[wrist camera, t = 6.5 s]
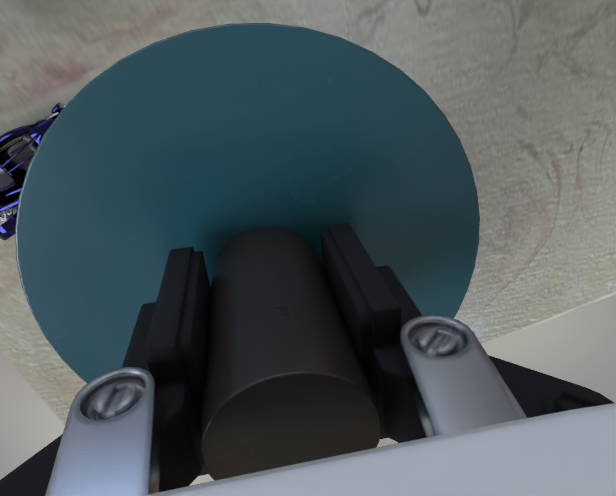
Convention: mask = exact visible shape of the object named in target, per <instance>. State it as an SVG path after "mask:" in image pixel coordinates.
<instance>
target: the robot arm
mask: <svg viewBox="0 0 616 496" xmlns="http://www.w3.org/2000/svg"><path fill="white" fill-rule="evenodd" d="M321 245H322V258H323V270H324V272H325V275H326V277H327V280H328V282H329V285H330V287H331V290H332V292H333V295H334V297H335V300H336V302H337V305H338V307H339V310H340V312H341V315H342V317H343V320H344V322H345V325H346V327H347V330H348V332H349V335H350V337H351V340H352V342H353V345H354V348H355V350H356V353H357V355H358V358H359V360H360V363H361V365H362V368H363V370H364V373H365V375H366V378H367V380H368V383H369V385H370V388H371V390H372V393H373V395H374V398H375V400H376V403H377V405H378V408H379V411H380V415H381V422H382V427H381V435H380V439H383V438H388V437H389V438H391V439H393V440H395V441H397V442H398V443H397V444H393V445H387V446H382V447H377V448H372V449H368V450H363V451H358V452H353V453H348V454H343V455H338V456H333V457H328V458H323V459H318V460H313V461H308V462H303V463H299V464H294V465H289V466H284V467H279V468H274V469H269V470H264V471H260V472H255V473H250V474H245V475H240V476H235V477H230V478H225V479H221V480H216V481H211V482H207V483H201V484H197V485H192V486H189V485H190V484H191V483H192V482H193V480H195V479H196V478H197V476H200V475H206V474H209V473H208V471H207V470H206V468H205V466H204V463H203V461H202V457H201V452H200V442H201V427H202V412H203V397H204V383H205V368H206V353H207V338H208V323H209V308H210V294H211V287H210V282H209V278H208V273H207V269H206V264H205V260H204V256H203V252H202V251H196V252H195V250H194V248H193V247H185V248H178V249H171V250H170V252H169V256H168V259H167V263H166V267H165V271H164V275H163V278H162V282H161V286H160V290H159V293H158V297H157V301H156V302H152V303H146V304H143V305H142V306H141V308H140V311H139V314H138V318H137V321H136V324H135V327H134V330H133V333H132V337H131V340H130V343H129V346H128V349H127V352H126V356H125V359H124V362H123V365H122V368H118V369H115V370H112V371H109V372H106V373H104V374H102V375H100V376H98V377H96V378H94V379H93V380H92V381H90V382H89V383H88V384H86V385H85V386H84V387H83V388H82V389H81V390H80V391H79V392H78V394H77V395H76V396H75V398H74V400H73V402H72V404H71V407H70V411H69V414H68V418H67V421H66V425H65V428H64V432H63V434H62V435H61V436H60V437H58V438H57V439H55V440H54V441H53V442H51V443H50V444H49V445H47V446H46V447H45V448H43V449H42V450H40V451H39V452H38V453H36V454H35V455H34V456H32V457H31V458H30V459H28V460H27V461H26V462H24V463H23V464H21V465H20V466H19V467H17V468H16V469H15V470H13V471H12V472H11V473H9V474H8V475H7V476H5V477H4V478H2V479H1V480H0V496H616V403H614V402H612V401H610V400H609V399H608V398H606V397H605V396H603V395H601V394H600V393H597V392H595V391H592V390H590V389H588V388H585V387H582V386H579V385H576V384H573V383H570V382H567V381H564V380H561V379H558V378H555V377H552V376H549V375H546V374H543V373H540V372H537V371H534V370H531V369H528V368H525V367H522V366H519V365H516V364H513V363H510V362H506V361H504V360H501V359H498V358H495V357H492V356H489V355H487V353H486V352H485V350H484V349H483V347H482V345H481V344H480V342H479V341H478V339H477V337H476V336H475V334H474V333H473V332H472V330H471V329H470V328H469V327H468V326H467V325H465V324H463V323H462V322H460V321H459V320H456V319H453V318H450V317H447V316H441V315H424V316H423V315H422V313H421V312H420V310H419V309H418V307H417V306H416V305H415V303H414V302H413V300H412V299H411V297H410V296H409V294H408V293H407V291H406V290H405V288H404V287H403V285H402V284H401V282H400V281H399V280H398V278H397V277H396V275H395V274H394V272H393V271H392V269H391V268H390V267H389V266H388V265H385V266H378V267H376V266H375V264H374V263H373V261H372V259H371V258H370V256H369V255H368V253H367V251H366V250H365V248H364V246H363V245H362V243H361V242H360V240H359V238H358V237H357V235H356V234H355V232H354V230H353V229H352V227H351V226H350V224H349V223H348V224H341V225H334V226H328V232H324V233H321Z"/></svg>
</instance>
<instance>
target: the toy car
mask: <svg viewBox="0 0 616 496" xmlns="http://www.w3.org/2000/svg"><path fill="white" fill-rule="evenodd" d="M66 105H67V104H66ZM66 105H65V106H66ZM65 106H64V104H63V105H62V104H61V103H58V104H56V105H55V107H54V108H53V109H52V113H54V114H53V115H52V116H50V117H49V118H48V119H42V120H39V121H38V122H36V123H35V124H32V125H27V126H22V127H19V128H16V129H13V130H11V131H9V132H7V133H5V134H3V135H1V136H0V148H1V147H3V146H4V145H5V144H7V143H8V142H10V141H11V140H13V139H15V138H17V137H20V136H23V135H26V134H29V133H30V134H29V135H27V136H25V137H23V138H22V139H21V140H19V141H18V142H16V143H14V144H13V145H11V146H9V147H8V148H6V149H4V150H3V151H1V152H0V215H1V214H3V215H4V217H5V218H4V217H1V216H0V220H2V221H5V222H4V223H3V224H2V225H0V238H1V239H3V240H7V239H8V238H10V237H11V236H13V235H14V234H15V225H16V218H17V213H16V214H13V208H14V207H15V206H16V204H18V202H19V196H20V192H21V189H22V186H23V182H24V179H25V176H26V173H27V169H28V166H29V164H30V162H31V160H32V158H33V156H34V154H35V152H36V150H37V148H38V146H39V144H40V142H41V140H42V138H43V136H44V134H45V133H46V132H47V130H48V129H49V127H50V126H51V125H52V123H53V122H54V121H55V119H56V118H57V116H58V115H59V114H60V112H61V111H62V110H63V108H64V107H65ZM8 210H10V213H8V212H6V211H8ZM11 216H12V217H11Z"/></svg>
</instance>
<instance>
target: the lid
mask: <svg viewBox="0 0 616 496" xmlns="http://www.w3.org/2000/svg"><path fill="white" fill-rule="evenodd" d="M479 222H480V216H479V206H478V196H477V190H476V186H475V182H474V178H473V174H472V170H471V166H470V163H469V161H468V158H467V156H466V154H465V151H464V149H463V146H462V144H461V142H460V139H459V138H458V136H457V134H456V133H455V131H454V129H453V128H452V126H451V124H450V123H449V121H448V120H447V118H446V116H445V115H444V113H443V112H442V111H441V110H440V109H439V107H438V106H437V105H436V104H435V103H434V101H433V100H432V99H431V98H430V97H429V95H428V94H427V93H426V92H425V91H424V90H423V89H422V88H421V87H420V86H418V85H417V84H416V83H415V82H414V81H413V80H412V79H410V78H409V77H408V76H407V75H406V74H405V73H404V72H403V71H401V70H400V69H398V68H397V67H395V66H394V65H392V64H391V63H389V62H388V61H386V60H384V59H383V58H381V57H380V56H378V55H377V54H375V53H374V52H372V51H369V50H367V49H365V48H363V47H361V46H358V45H356V44H354V43H352V42H349V41H347V40H345V39H343V38H340V37H337V36H333V35H330V34H326V33H322V32H319V31H315V30H312V29H308V28H303V27H296V26H288V25H280V24H272V23H247V24H226V25H220V26H214V27H208V28H203V29H197V30H191V31H188V32H185V33H182V34H179V35H176V36H173V37H170V38H167V39H164V40H161V41H158V42H155V43H153V44H151V45H149V46H147V47H145V48H143V49H141V50H139V51H137V52H135V53H133V54H131V55H129V56H127V57H125V58H123V59H121V60H119V61H118V62H117V63H115V64H114V65H113V66H111V67H110V68H108V69H107V70H106V71H104V72H103V73H101V74H100V75H99V76H97V77H96V78H94V79H93V80H92V81H90V82H89V83H88V84H87V85H86V86H85V87H84V88H83V89H82V90H81V91H80V92H79V93H78V94H77V95H76V96H75V97H74V98H73V99H72V100H71V101H70V102H69V103H68V104H67V105H66V106H65V107H64V108H63V110H62V111H61V112H60V114H59V115H58V116H57V118H56V119H55V121H54V122H53V123H52V125H51V126H50V127H49V129H48V130H47V132H46V133H45V134H44V136H43V138H42V140H41V142H40V144H39V146H38V148H37V150H36V152H35V154H34V156H33V158H32V160H31V162H30V164H29V166H28V169H27V173H26V176H25V179H24V182H23V186H22V189H21V192H20V196H19V202H18V210H17V218H16V225H15V234H16V258H17V263H18V268H19V273H20V278H21V283H22V287H23V290H24V293H25V295H26V298H27V301H28V303H29V306H30V309H31V312H32V314H33V316H34V317H35V319H36V321H37V323H38V325H39V326H40V328H41V330H42V332H43V334H44V336H45V337H46V339H47V340H48V341H49V343H50V344H51V345H52V347H53V348H54V349H55V351H56V352H57V353H58V355H59V356H60V357H61V359H62V360H63V361H64V362H65V363H66V364H67V365H68V366H69V367H70V368H71V369H72V370H73V371H74V372H75V373H76V374H77V375H78V376H79V377H80V378H81V379H83V380H84V381H85V382H87V383H89V382H90V381H92V380H93V379H94V378H96V377H98V376H100V375H102V374H104V373H106V372H109V371H112V370H115V369H118V368H122V365H123V362H124V359H125V356H126V352H127V349H128V346H129V343H130V340H131V337H132V333H133V330H134V327H135V324H136V321H137V318H138V314H139V311H140V308H141V306H142V305H143V304H146V303H152V302H156V301H157V297H158V293H159V290H160V286H161V282H162V278H163V275H164V271H165V267H166V263H167V259H168V256H169V252H170V250H171V249H178V248H185V247H193V248H194V250H195V252H196V251H202V252H203V256H204V260H205V264H206V269H207V273H208V278H209V282H210V287H211V294H210V308H209V323H208V338H207V353H206V368H205V383H204V397H203V412H202V427H201V442H200V452H201V457H202V461H203V463H204V466H205V468H206V470H207V471H208V473H209V475H210V476H211V477H212V478H213V479H214V480H215V481H216V480H221V479H225V478H230V477H235V476H240V475H245V474H250V473H255V472H260V471H264V470H269V469H274V468H279V467H284V466H289V465H294V464H299V463H303V462H308V461H313V460H318V459H323V458H328V457H333V456H338V455H343V454H348V453H353V452H358V451H363V450H368V449H372V448H376V447H377V445H378V443H379V439H380V435H381V427H382V422H381V415H380V411H379V408H378V405H377V403H376V400H375V398H374V395H373V393H372V390H371V388H370V385H369V383H368V380H367V378H366V375H365V373H364V370H363V368H362V365H361V363H360V360H359V358H358V355H357V353H356V350H355V348H354V345H353V342H352V340H351V337H350V335H349V332H348V330H347V327H346V325H345V322H344V320H343V317H342V315H341V312H340V310H339V307H338V305H337V302H336V300H335V297H334V295H333V292H332V290H331V287H330V285H329V282H328V280H327V277H326V275H325V272H324V270H323V258H322V245H321V233H324V232H328V226H334V225H341V224H348V223H349V224H350V226H351V227H352V229H353V230H354V232H355V234H356V235H357V237H358V238H359V240H360V242H361V243H362V245H363V246H364V248H365V250H366V251H367V253H368V255H369V256H370V258H371V259H372V261H373V263H374V264H375V266H376V267H378V266H385V265H388V266H389V267H390V268H391V269H392V271H393V272H394V274H395V275H396V277H397V278H398V280H399V281H400V282H401V284H402V285H403V287H404V288H405V290H406V291H407V293H408V294H409V296H410V297H411V299H412V300H413V302H414V303H415V305H416V306H417V307H418V309H419V310H420V312H421V313H422V315H423V316H424V315H441V316H447V317H450V318H453V319H454V317H455V315H456V314H457V312H458V310H459V308H460V305H461V303H462V301H463V299H464V296H465V294H466V292H467V290H468V286H469V283H470V280H471V277H472V273H473V270H474V267H475V261H476V256H477V250H478V244H479Z"/></svg>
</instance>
